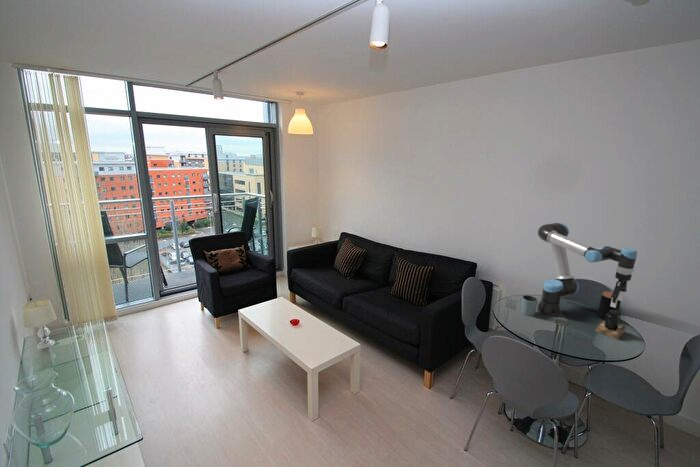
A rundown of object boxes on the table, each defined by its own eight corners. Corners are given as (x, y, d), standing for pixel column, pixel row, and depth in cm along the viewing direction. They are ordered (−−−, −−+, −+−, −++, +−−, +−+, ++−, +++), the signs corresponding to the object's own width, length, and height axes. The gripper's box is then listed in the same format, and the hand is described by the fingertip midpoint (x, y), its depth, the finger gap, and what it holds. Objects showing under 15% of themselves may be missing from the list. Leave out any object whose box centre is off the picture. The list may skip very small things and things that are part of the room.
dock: (595, 331, 212) (596, 324, 210) (602, 324, 219) (603, 317, 218) (617, 339, 202) (619, 332, 201) (624, 332, 210) (625, 325, 208)
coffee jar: (616, 323, 220) (622, 299, 215) (596, 318, 226) (602, 295, 221) (615, 316, 228) (621, 294, 223) (597, 312, 234) (602, 289, 229)
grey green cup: (538, 316, 230) (541, 301, 226) (524, 316, 230) (526, 301, 227) (531, 309, 240) (533, 294, 236) (517, 309, 240) (519, 294, 236)
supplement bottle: (604, 323, 214) (607, 307, 211) (617, 326, 210) (621, 310, 206) (603, 328, 209) (607, 312, 206) (617, 331, 205) (620, 315, 201)
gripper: (625, 280, 189) (617, 312, 195) (637, 269, 203) (629, 300, 209) (610, 276, 195) (602, 307, 201) (622, 266, 209) (615, 295, 215)
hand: (616, 303), depth 205 cm, fingers open, 13 cm apart
